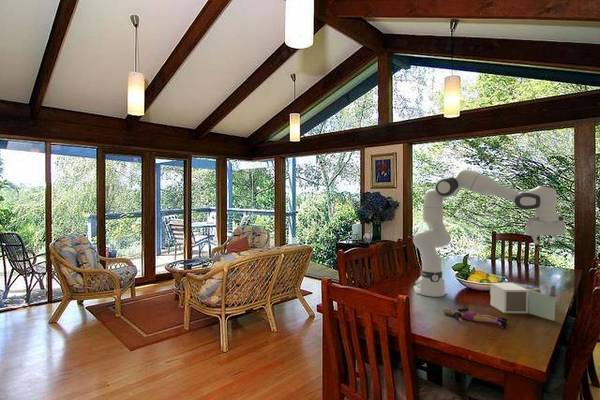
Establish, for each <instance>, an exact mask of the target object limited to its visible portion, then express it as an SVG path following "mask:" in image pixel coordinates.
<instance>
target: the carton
mask: <svg viewBox="0 0 600 400" xmlns="http://www.w3.org/2000/svg"><path fill="white" fill-rule="evenodd" d="M513 283H514V282H513ZM513 283H505V282H491V283H490V287H491V294H490V303H489V304H490V306H492V307H493V308H495V309H497V310H498V311H500V312H502V313H503V314H529V313H528V290H527V289H525V288H523V287H520V286H518V285H516V284H513Z"/></svg>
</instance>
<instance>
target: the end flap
mask: <svg viewBox="0 0 600 400" xmlns="http://www.w3.org/2000/svg"><path fill="white" fill-rule="evenodd" d="M549 288H550V291H549V293H550V294H547V293H542V292H541V293H539V292H535V291H530V290H528V313H527V314H530V315H534V316H537V317H540V318H544V319H547V320H550V321H552V322H553V321H554V322H555V320H556V319H555V315H556V314H555V313H556V312H555V311H556V309H555V308H556V297H558V295H557V294H556V285H554V284H552V285H551V284H550V287H549Z"/></svg>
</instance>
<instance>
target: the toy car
mask: <svg viewBox="0 0 600 400" xmlns="http://www.w3.org/2000/svg"><path fill="white" fill-rule="evenodd" d="M504 283H513V284H516V285H518V286H520V287H523V288H525V289H527V290H530V291H535V292H539V293H542V291H541V288H539V287H535V286H530V285H528V284H527V285H526V284H522V283H518V282H512V281H504ZM489 295H491V286H490V287H489Z"/></svg>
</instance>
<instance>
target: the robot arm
mask: <svg viewBox="0 0 600 400" xmlns="http://www.w3.org/2000/svg"><path fill="white" fill-rule="evenodd" d="M462 189H463V190H466V191H467V190H468V191H470V192H472V193H475V194H479V195H484V196H495V197H500V198H503V199H505V200H508V201H511V202H512V203H514V205H515V206H516V207H517V208H518V209H520V210H522V211H529V210H535V211H534V214H535V215H534V217H532V216H531V217H529V218H527V219H526V224H525V230H524V233H525V235H526V236H531V239H532V240H533V244H534V245H539V244H540V241H539V240H538V239H537V238H538V237H539V236H551V237H552V238H551V239H550V240H549V244H550V245H556V241H557V239H558V236H564V234H565V233H566V223H565V221H566V218H565V216H562V215H560V214H557V209H556V207H557V202H558V199H557V190H556V189H555V188H554V187H552V186H548V185H543V184H542V185H538V186H536V187H533V188H532V189H528V190H526V191H519V190H515V189H512V188H510V187H507V186H504V185H502V184H500V183H499V182H497V181H496V180H494V179H493V178H491V177H489V176H487V175H485V174H482V173H480V172H478V171H473V170H469V169H464V168H463V169H460V170H458V171H457V172H456V174H455V176H449V177H443V178H441V179H439V180H438V181H437V182H436V183H435V188H431V189H428V190H426V192H425V194H424V197H423V198H424V199H423V203H422V204H423V206H422V210H423V211H422V220H423V222H425V223H426V225H427V226H428V230H427V229H425V230H424V229H423V230H420V231H417V232H415V233H414V235H413V237H412V242H413V245H414V246H415V247H416V248H417V249H418V251H419V253H420V257H421V271H420V276H419V277H418V279H416V280H415V285H413V289H414V293H415V294H417V295H422V296H426V297H433V298H434V297H435V298H438V297H439V298H440V297H443V296H445V295H448V292H447V291H446V286H445V285H446V284H445V280H444V279H443V271H442V263H443V261H442V257H441V256H439V255H438V253H437V251H436V248H444V247H446V246H448V245H450V243H451V240H452V235H451V234H450V233H449V231H448V230H447V229H446V227H445V224H444V220H443V219H444V218H443V216H444V215H443V213H444V212H443V211H444V210H443V208H444V204H443V203H444V200H445V198H449V197H452V196H453V197H454V196H455V195H457V194H458V193H459V191H460V190H462Z"/></svg>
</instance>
